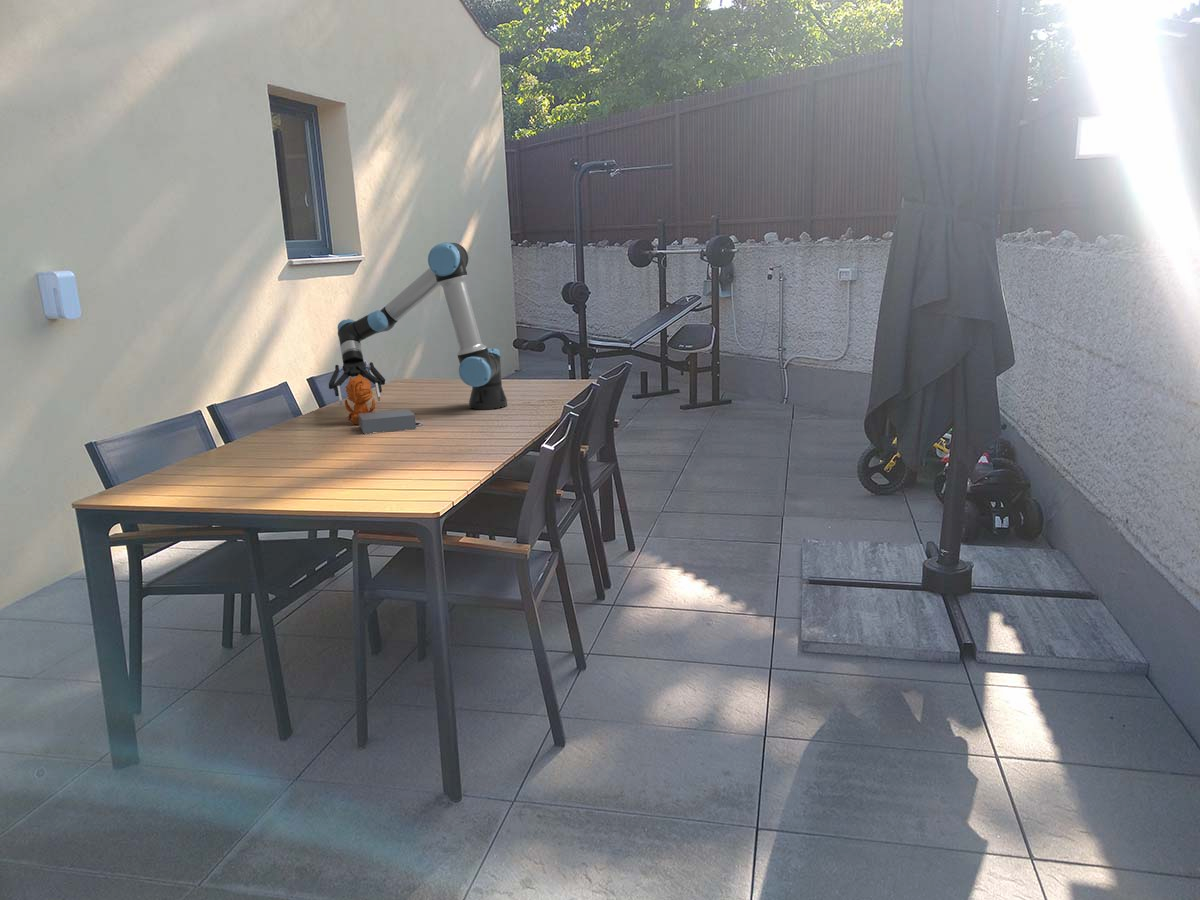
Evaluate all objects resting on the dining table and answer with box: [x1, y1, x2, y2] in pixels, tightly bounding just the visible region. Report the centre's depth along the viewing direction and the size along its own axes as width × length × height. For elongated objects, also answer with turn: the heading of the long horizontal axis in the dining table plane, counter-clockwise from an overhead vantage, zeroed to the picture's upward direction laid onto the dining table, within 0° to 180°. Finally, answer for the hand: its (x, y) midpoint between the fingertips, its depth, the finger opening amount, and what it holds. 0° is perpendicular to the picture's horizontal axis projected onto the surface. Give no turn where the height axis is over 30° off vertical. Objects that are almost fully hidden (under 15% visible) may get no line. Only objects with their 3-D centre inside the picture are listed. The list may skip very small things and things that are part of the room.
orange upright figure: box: [344, 374, 376, 425], centre depth 331 cm, size 11×11×18 cm
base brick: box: [358, 408, 417, 435], centre depth 321 cm, size 18×14×5 cm
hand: (360, 400), depth 330 cm, fingers open, 13 cm apart
